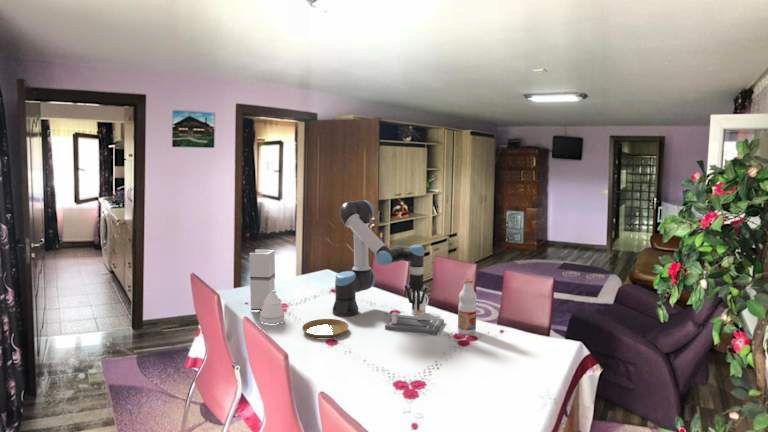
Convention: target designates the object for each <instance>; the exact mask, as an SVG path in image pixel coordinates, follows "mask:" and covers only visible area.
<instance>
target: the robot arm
mask: <svg viewBox="0 0 768 432" xmlns="http://www.w3.org/2000/svg"><path fill="white" fill-rule="evenodd" d="M338 213H339V215H338V216H339V218H340V220H341V222H342V224H343V225H344V226H345V227H346V228H350V229H351V230H352V231H353V267H352V268H351V270H346V271H341V272H338V273H337V274H336V275H335V280H334V286H335V287H334V288H335V289H334V290H335V291H334V293H335V294H334V295H335V300H334V303H333V306H332V314H333V315H335V316H338V317H352V316H357V315H358V314H359V307H358V304H357V300H356V293H360V292H363V291H367V290H369V289H372V287H373V286H374V285H375V282H376V275H375V273H374V271H373V270H372V267H371V266H370V265H369V264H370V263H369V249H370V251H372V252H373V254H374V255H375V259H376V261H377V264H378V265H380V266H389V265H390V264H391V265H392V264H394V263H398V262H402V261H403V262H409V273H410V274H409V281H408V284H405V285H404V289H405V290H406V294H407V298H408V303H410V304H411V310H412V309H413V310H414V315H413V316H416V317H417V310H419V309H420V304H422V303H423V301H424V297H425V293H427V290H428V289H429V287H428V286H427V285H425V282H424V273H425V271H424V270H425V269H424V267H425V266H424V260H425V259H424V258H425V257H424V256H425V251H424V250H425V249H424V246H423V245H421V244H412V245H410V246H409V247H406V246H401V245H395V246H393V248H391V249H390V248H389V247H388V246H387V245H386V243H384V242H383V241H382V240H381V238H380V237H378V236H377V234H375V233H374V231H373V230H372V229H371V228H370V227H369V225H370V224H371V219H372V218H373V217H374V214H375V208H374V206H373V204H372V203H371V202H370V201H369V200H366V199H359V200H358V199H357V200H353V201H352V200H351V201H346V202H344V203H343V204H342V205H341V206H340V207H339V212H338ZM422 289H423V291H422V292H423V294H422V297H421V301H420V292H421V290H422ZM411 291H412V292H411ZM416 292H417V303H415V293H416Z"/></svg>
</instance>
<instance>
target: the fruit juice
mask: <svg viewBox="0 0 768 432" xmlns="http://www.w3.org/2000/svg"><path fill="white" fill-rule="evenodd" d="M462 283H463V288H462V290H461V291H460V292H459V294H458V298H459V299H458V300H459V302H458V308H457V312H458V313H457V317H458V318H457V331H458V333H460V334H461V335H462V334H463V335H473V334H475V333H476V330H477V304H476V302H477V294H476V292H475V290H474V287H473V284H474V281H473V279H471V278H465V279H463V282H462Z"/></svg>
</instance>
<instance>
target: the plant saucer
mask: <svg viewBox="0 0 768 432" xmlns="http://www.w3.org/2000/svg"><path fill="white" fill-rule="evenodd" d="M323 324H328V325H329V327H330V325H331V326H332V328H333V329H332V328H331V329H332V330H333V331H332V332H333V335H314V334H310V333H307V332H306V331H307V329H309V328H310V327H313V326H317V325H323ZM301 328H302V331H303V333H304V334H305V335H306V336H308V337H310V338H312V337H314V338H313V339H317V338H331V339H335V338H334V337H336V338H339V337H340V336H342V334H343V335H344V334H345V333H346V332H347V331H348V329H349V324H348V323H347V322H346V321H343V320H340V319H336V318H335V319H334V318H319V319H314V320H311V321H308V322H305V323H304V324H303V325H302V327H301ZM338 336H339V337H338Z"/></svg>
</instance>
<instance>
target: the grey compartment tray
mask: <svg viewBox="0 0 768 432" xmlns="http://www.w3.org/2000/svg"><path fill="white" fill-rule="evenodd" d="M444 320H445V319H443V318H434V317H426V316H423V319H422V320H417V316H414V315H407V314H405V315H404V314H398V322H397V323H396V324H394V323H392V317H391V318H390V319H389V321H388V322H387V323H386V324H385V325H384V330H386V331H387V330H388V331H395V332H396V331H397V332H403V333H404V332H406V333H414V334H422V335H430V336H431V335H432V336H433V335H434V336H438V334H439V332H440V330H441V328H442V327H443V325H444V323H445V321H444Z"/></svg>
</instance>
